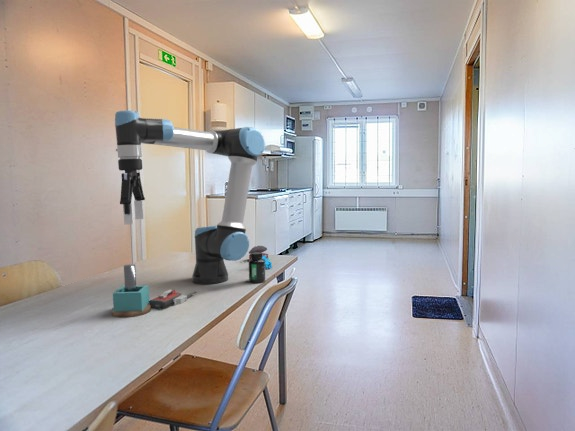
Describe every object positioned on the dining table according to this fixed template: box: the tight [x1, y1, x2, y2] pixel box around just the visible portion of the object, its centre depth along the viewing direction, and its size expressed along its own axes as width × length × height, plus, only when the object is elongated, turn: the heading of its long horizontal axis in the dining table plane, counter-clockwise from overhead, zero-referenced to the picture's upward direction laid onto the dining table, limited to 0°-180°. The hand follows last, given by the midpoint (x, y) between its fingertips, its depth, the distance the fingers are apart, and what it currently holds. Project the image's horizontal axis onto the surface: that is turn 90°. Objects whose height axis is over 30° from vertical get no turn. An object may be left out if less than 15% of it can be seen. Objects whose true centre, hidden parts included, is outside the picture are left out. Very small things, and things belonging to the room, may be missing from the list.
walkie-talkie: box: [149, 289, 197, 310], centre depth 158 cm, size 9×4×20 cm
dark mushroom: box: [248, 245, 269, 260], centre depth 229 cm, size 11×10×10 cm
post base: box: [111, 304, 152, 318], centre depth 147 cm, size 12×12×2 cm
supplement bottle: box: [248, 252, 266, 284], centre depth 184 cm, size 7×7×12 cm
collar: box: [112, 285, 150, 312], centre depth 147 cm, size 9×9×6 cm
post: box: [123, 263, 137, 292], centre depth 146 cm, size 4×4×14 cm
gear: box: [262, 254, 273, 270], centre depth 211 cm, size 11×6×10 cm
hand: (134, 221), depth 150 cm, fingers open, 13 cm apart
